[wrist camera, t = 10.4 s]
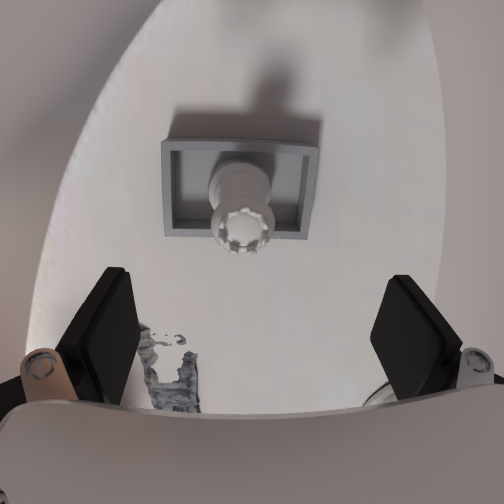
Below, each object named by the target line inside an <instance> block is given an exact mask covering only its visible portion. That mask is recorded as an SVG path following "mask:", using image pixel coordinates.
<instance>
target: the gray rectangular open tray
mask: <svg viewBox="0 0 504 504" xmlns="http://www.w3.org/2000/svg"><path fill="white" fill-rule="evenodd" d="M318 156H319V147H317V146H315V145H314V144H312V143H302V142H291V141H278V140H263V139H243V138H166V139H165V140H163V141H162V142H161V168H162V198H163V217H164V233H165V236H170V237H214V236H213V234H212V231H211V217H212V215H213V213H214V211H215V210H214V209H213V208H212V205H211V203H210V201H209V198H208V181H209V179H210V176H211V174H212V172H213V170H214V169H215V168H217V167H218V166H219V165H220V164H221V163H222V162H224V161H227V160H230V159H232V158H248V159H250V160H252V161H254V162H257V163H259V164H260V165H261V166H262V168H263V169H264V170H265V171H266V172H267V174H268V177H269V180H270V183H271V198H270V201H269V203H268V206H269V207H270V208H271V209H272V212H273V215H274V218H275V228H274V233H273V235H272V236H271V238H270V239H299V240H307V237H308V231H309V224H310V217H311V210H312V203H313V196H314V188H315V180H316V172H317V164H318Z"/></svg>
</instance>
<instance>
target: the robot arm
mask: <svg viewBox="0 0 504 504" xmlns="http://www.w3.org/2000/svg"><path fill="white" fill-rule="evenodd" d="M140 336H141V333H140V327H139V322H138V317H137V312H136V307H135V301H134V296H133V290H132V284H131V278H130V274H129V272H125V269H124V268H122V267H108V268H107V269H106V270H105V271H104V273H103V274H102V276H101V277H100V279H99V280H98V282H97V283H96V285H95V286H94V288H93V289H92V291H91V292H90V294H89V295H88V297H87V298H86V300H85V302H84V303H83V304H82V305H81V307H80V308H79V310H78V312H77V313H76V315H75V316H74V318H73V320H72V321H71V323H70V325H69V326H68V328H67V330H66V331H65V333H64V335H63V336H62V338H61V340H60V341H59V343H58V345H57V347H56V348H55V350H53V349H49V348H41V349H36V350H34V351H32V352H30V353H29V354H28V355H27V356H25V358H24V359H23V361H22V362H21V365H20V375H19V376H17V377H15V378H13V379H11V380H8V381H6V382H4V383H1V384H0V504H504V378H503V377H501V376H499V375H497V374H494V364H493V361H492V360H491V358H490V357H489V356H488V355H487V354H486V353H485V352H484V351H482V350H480V349H477V348H467V349H465V350H464V351H463V352H461V351H460V347H461V345H462V344H463V342H462V341H461V340H460V338H459V337H458V336H457V334H456V333H455V332H454V330H453V329H452V328H451V326H450V325H449V324H448V322H447V321H446V320H445V318H444V317H443V316H442V315H441V313H440V312H439V311H438V309H437V308H436V307H435V306H434V304H433V303H432V302H431V301H430V300H429V298H428V297H427V296H426V295H425V293H424V292H423V291H422V290H421V289H420V287H419V286H418V285H417V284H416V283H415V281H414V280H413V279H412V278H411V277H410V276H409V275H394V276H393V278H392V279H390V280H389V281H388V284H387V287H386V291H385V294H384V297H383V300H382V303H381V306H380V309H379V312H378V315H377V317H376V320H375V323H374V326H373V329H372V331H371V335H370V340H371V344H372V346H373V348H374V350H375V352H376V354H377V356H378V358H379V360H380V362H381V365H382V367H383V369H384V371H385V373H386V375H387V378H388V380H389V382H390V384H389V385H387V386H385V387H384V388H382V389H381V390H380V391H378V392H377V393H375V394H374V395H373V396H372V397H371V398H370V399H369V400H368V401H367V402H366V403H365V405H364V406H362V407H354V408H346V409H338V410H328V411H317V412H304V413H288V414H249V415H240V414H204V413H187V412H174V411H164V410H153V409H144V408H135V407H127V406H120V402H121V398H122V395H123V392H124V388H125V385H126V382H127V378H128V375H129V372H130V369H131V366H132V363H133V360H134V357H135V354H136V351H137V348H138V345H139V342H140Z"/></svg>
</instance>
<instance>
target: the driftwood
mask: <svg viewBox="0 0 504 504" xmlns="http://www.w3.org/2000/svg"><path fill="white" fill-rule="evenodd" d="M149 332H150V329H147V330H145V331H142V332H140V333H141V336H140V342H139V345H138V348H137V351H138V354H139V356H140V357H141V358H140V359H141V362H142V364H143V367H144V375H145V379H144V380H145V383H146V385H147V387H148V391H149V395H150V397H151V398H152V401H151V402H152V404H153V406H154V408H155V410H164V411H174V412H187V413H197V409H198V408H199V404H197V402H196V388H197V386H196V385H197V373H196V370H195V369H194V366H195V365H194V364H195V362H196V358H197V355H198V354H194V353H192V352H187V353H186V354H184V358H182V360H183V364H182V366H181V368H178V370H177V371H178V375H179V381H173V382H172V383H158V377H157V373H156V372H154V371H153V370H154V369H153V368H151V367H150V366H151V365H153V364H154V363H155V362H156V360H157V359H158V355H157V354H156V353H155V352H154V350H153V347H154V346H155V345H156V344H162V345H163V346H169V345H168V344H167V343H166V342H156V341H154V340H153V339H152V338H151V337H150V336H151V335H150V333H149ZM153 335H156V334H155V333H154V334H153ZM166 336H167V335H166ZM176 336H178V337H180V338H181V340H179V341H177V342H176V343H178V344H179V345H184V344H186V338H184V337H183V336H182V335H175V336H174V337H176ZM142 345H144V346H145V347H143V346H142ZM170 345H172V344H171V343H170Z"/></svg>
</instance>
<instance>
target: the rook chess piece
mask: <svg viewBox="0 0 504 504" xmlns="http://www.w3.org/2000/svg"><path fill="white" fill-rule="evenodd" d="M208 198H209V201H210V203H211V205H212V208H213V209H214V210H215V211H214V213H213V215H212V217H211V231H212V234H213V236H214V238H215V240H216V241H217V242H218V243H219V244H220V245H221V246H222V247H223V248H224V249H226V250H228V252H229V253H232V254H234V255H237V256H238V253H247V255H248V256H249V255H252V254H255V253H257V250H259V249H260V248H262V247H263V246H264V247H265V245H266V243H268V242H269V240H270V238H271V236H272V235H273V233H274V228H275V218H274V215H273V212H272V209H271V208H270V207H269V206H268V203H269V201H270V198H271V183H270V180H269V177H268V174H267V172H266V171H265V170H264V169H263V168H262V166H261V165H260V164H259V163H257V162H254V161H252V160H250V159H248V158H232V159H230V160H227V161H224V162H222V163H221V164H220V165H219V166H218V167H217V168H215V169H214V170H213V172H212V174H211V176H210V179H209V181H208Z"/></svg>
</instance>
